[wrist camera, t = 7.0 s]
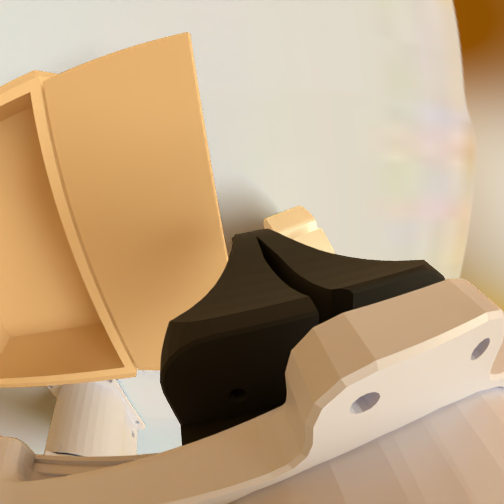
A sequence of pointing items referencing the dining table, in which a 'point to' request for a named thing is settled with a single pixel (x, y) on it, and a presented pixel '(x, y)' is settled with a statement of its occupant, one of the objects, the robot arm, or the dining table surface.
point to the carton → (46, 260)
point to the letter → (299, 228)
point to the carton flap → (140, 184)
